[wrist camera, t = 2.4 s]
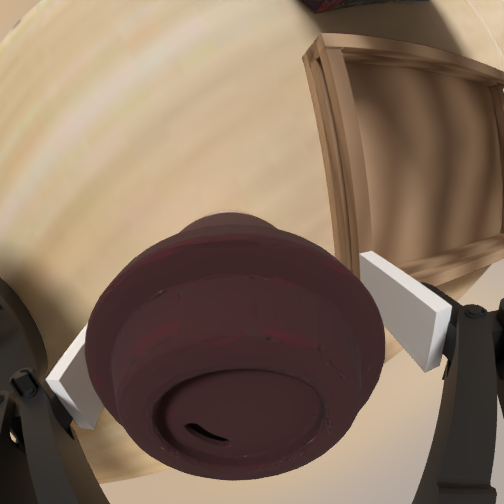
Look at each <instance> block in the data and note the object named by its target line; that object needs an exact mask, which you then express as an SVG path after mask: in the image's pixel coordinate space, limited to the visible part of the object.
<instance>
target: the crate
mask: <svg viewBox="0 0 504 504" xmlns="http://www.w3.org/2000/svg"><path fill="white" fill-rule="evenodd" d="M302 58H303V62H304V66H305V70H306V74H307V79H308V83H309V87H310V92H311V96H312V101H313V106H314V111H315V115H316V121H317V126H318V131H319V136H320V142H321V148H322V154H323V160H324V166H325V173H326V179H327V186H328V194H329V201H330V209H331V217H332V226H333V236H334V246H335V257H336V259H337V260H339V261H340V262H341V263H342V264H343V265H344V266H346V267H347V268H348V269H349V270H350V271H351V272H352V273H353V274H354V275H355V276H356V277H357V278H358V279H359V280H360V261H359V254H360V253H364V252H369V251H373V252H374V253H376V254H377V255H379V256H381V257H382V258H384V259H385V260H387V261H388V262H390V263H391V264H393V265H394V266H396V267H397V268H399V269H400V270H402V271H403V272H405V273H406V274H408V275H409V276H411V277H412V278H414V279H415V280H416V281H418V282H419V283H421V282H425V283H428V284H431V285H433V286H438V285H440V284H443V283H446V282H448V281H451V280H453V279H456V278H459V277H461V276H464V275H466V274H469V273H471V272H473V271H476V270H478V269H481V268H483V267H485V266H488V265H490V264H492V263H494V262H497V261H499V260H501V259H503V258H504V92H503V88H504V72H503V71H501V70H498V69H496V68H493V67H491V66H488V65H486V64H483V63H480V62H478V61H475V60H472V59H469V58H466V57H463V56H460V55H457V54H454V53H450V52H447V51H443V50H440V49H436V48H432V47H428V46H423V45H419V44H414V43H409V42H404V41H399V40H393V39H386V38H379V37H372V36H363V35H352V34H337V33H321V34H320V35H319V36H318V37H317V39H316V40H315V41H314V43H313V44H312V45H311V46H310V48H309V49H308V50H307V52H306V53H305V54H304V55H303V57H302Z"/></svg>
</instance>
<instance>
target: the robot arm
mask: <svg viewBox="0 0 504 504" xmlns="http://www.w3.org/2000/svg"><path fill="white" fill-rule="evenodd" d="M359 261H360V281H361V282H362V283H363V284H364V286H365V287H366V288H367V290H368V291H369V292H370V294H371V295H372V297H373V299H374V301H375V303H376V305H377V307H378V309H379V312H380V315H381V318H382V321H383V325H384V326H385V327H386V328H387V330H388V331H389V332H390V333H391V334H392V335H393V336H394V337H395V339H396V340H397V341H398V342H399V343H400V344H401V345H402V347H403V348H404V349H405V350H406V351H407V352H408V353H409V355H410V356H411V357H412V358H413V359H414V360H415V362H416V363H417V364H418V365H419V366H420V367H421V369H422V370H423V371H424V372H427V371H429V370H432V369H434V368H436V367H438V366H439V365H440V362H441V358H442V354H444V355H445V356H446V357H447V359H448V361H447V365H446V368H445V371H444V375H443V378H442V379H443V380H444V387H443V393H442V399H441V405H440V410H439V415H438V420H437V425H436V429H435V434H434V437H433V441H432V445H431V449H430V452H429V456H428V459H427V463H426V466H425V469H424V472H423V475H422V478H421V481H420V484H419V487H418V490H417V492H416V495H415V498H414V500H413V502H412V504H495V503H496V496H497V493H496V489H495V488H493V487H491V485H490V480H491V473H492V467H493V460H494V452H495V441H496V427H497V395H498V398H499V402H500V405H501V409H502V413H503V418H504V298H503V299H502V300H501V302H500V306H499V310H496V311H491V312H487V310H486V309H484V308H483V307H481V306H479V305H474V304H471V305H465V306H462V305H460V304H459V303H458V302H456V301H455V300H453V299H452V298H451V297H449V296H448V295H445V293H443V292H442V291H439V289H437V288H436V287H435V286H433V285H431V284H428V283H425V282H421V283H419V282H418V281H416V280H415V279H414V278H412V277H411V276H409V275H408V274H406V273H405V272H403V271H402V270H400V269H399V268H397V267H396V266H394V265H393V264H391V263H390V262H388V261H387V260H385V259H384V258H382V257H381V256H379V255H377V254H376V253H374V252H373V251H369V252H364V253H360V254H359ZM87 325H88V323H87V324H86V326H85V327H84V328H83V330H82V331H81V332H80V333H79V335H78V336H77V337H76V339H75V340H74V341H73V342H72V344H71V345H70V346H69V348H68V349H67V350H66V352H65V353H64V354H63V355H61V357H60V358H59V359H58V361H57V362H56V364H55V365H54V366H53V369H51V370H50V372H49V373H48V375H47V376H46V377H45V379H44V380H43V382H42V383H41V384H40V382H41V380H42V379H43V377H44V376H45V374H46V370H47V356H46V351H45V347H44V344H43V341H42V338H41V336H40V333H39V331H38V329H37V327H36V325H35V323H34V321H33V319H32V317H31V315H30V314H29V312H28V310H27V309H26V307H25V306H24V304H23V303H22V301H21V300H20V299H19V297H18V296H17V295H16V294H15V292H14V291H13V290H12V289H11V288H10V287H9V286H8V285H7V284H6V283H5V282H4V281H3V280H2V279H1V278H0V504H110V503H109V501H108V500H107V498H106V496H105V495H104V493H103V491H102V489H101V487H100V485H99V483H98V482H97V480H96V478H95V476H94V474H93V472H92V470H91V468H90V465H89V463H88V461H87V459H86V457H85V455H84V452H83V450H82V448H81V445H80V443H79V440H78V438H77V435H76V433H75V430H74V429H73V428H72V426H71V425H70V424H71V422H72V420H74V421H75V422H76V424H77V425H78V426H79V427H80V428H82V429H91V430H94V428H95V426H96V424H97V421H98V419H99V416H100V414H101V412H102V409H103V407H104V405H103V403H102V402H101V400H100V398H99V397H98V395H97V393H96V392H95V390H94V388H93V385H92V383H91V380H90V378H89V374H88V369H87V364H86V359H85V336H86V329H87ZM10 432H11V434H12V435H13V436H14V437H15V438H16V442H14V441H13V440H12V439H11V437H10Z"/></svg>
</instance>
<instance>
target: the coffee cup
mask: <svg viewBox="0 0 504 504" xmlns="http://www.w3.org/2000/svg"><path fill="white" fill-rule="evenodd" d="M85 359H86V364H87V369H88V374H89V378H90V380H91V383H92V385H93V388H94V390H95V392H96V393H97V395H98V397H99V398H100V400H101V402H102V403H103V405H104V406H105V408H106V409H107V410H108V411H109V413H110V414H111V415H112V416H113V417H114V418H115V420H116V421H117V422H118V423H119V424H121V425H122V426H123V427H124V429H125V430H126V432H127V433H128V435H129V436H130V437H131V438H132V439H133V441H134V442H135V443H136V444H137V445H138V446H139V447H140V448H141V449H142V450H144V451H145V452H146V453H147V454H149V455H150V456H151V457H153V458H155V459H156V460H158V461H160V462H161V463H163V464H165V465H167V466H169V467H172V468H174V469H177V470H179V471H182V472H184V473H187V474H191V475H195V476H200V477H205V478H212V479H220V480H251V479H259V478H264V477H269V476H274V475H279V474H282V473H285V472H288V471H291V470H294V469H297V468H299V467H301V466H304V465H306V464H308V463H309V462H311V461H313V460H315V459H316V458H318V457H320V456H321V455H323V454H324V453H326V452H327V451H328V450H329V449H330V448H332V447H333V446H334V445H335V444H336V443H337V442H338V441H339V440H340V439H341V438H342V437H343V436H344V435H345V434H346V432H347V431H348V430H349V428H350V427H351V425H352V423H353V421H354V419H355V417H356V416H357V413H358V412H359V411H360V409H361V408H362V407H363V406H364V404H365V403H366V402H367V401H368V399H369V397H370V395H371V394H372V391H373V390H374V388H375V386H376V384H377V382H378V380H379V377H380V374H381V370H382V367H383V363H384V359H385V332H384V326H383V321H382V318H381V315H380V312H379V309H378V307H377V305H376V303H375V301H374V299H373V297H372V295H371V294H370V292H369V291H368V290H367V288H366V287H365V286H364V284H363V283H362V282H361V281H360V280H359V279H358V278H357V277H356V276H355V275H354V274H353V273H352V272H351V271H350V270H349V269H348V268H347V267H346V266H344V265H343V264H342V263H341V262H340V261H339V260H337V259H336V258H335V257H334V256H333V255H331V254H330V253H328V252H327V251H326V250H324V249H323V248H322V247H320V246H318V245H316V244H314V243H312V242H310V241H308V240H306V239H305V238H302V237H300V236H297V235H295V234H292V233H289V232H286V231H282V230H278V229H277V228H275V227H274V226H273V225H271V224H270V223H268V222H266V221H264V220H262V219H260V218H258V217H255V216H252V215H250V214H248V213H244V212H241V211H233V210H226V211H218V212H215V213H211V214H209V215H207V216H205V217H203V218H201V219H199V220H197V221H195V222H193V223H191V224H190V225H188V226H187V227H186V228H184V229H183V230H182V231H181V232H180V233H178V234H176V235H174V236H171V237H169V238H167V239H165V240H162V241H160V242H158V243H157V244H155V245H153V246H151V247H150V248H148V249H146V250H145V251H144V252H142V253H141V254H140V255H138V256H137V257H136V258H134V259H133V260H132V261H131V262H130V263H129V264H128V265H127V266H126V267H125V268H124V269H123V270H122V271H121V272H120V273H119V274H118V275H117V276H116V277H115V279H114V280H113V281H112V282H111V283H110V284H109V286H108V287H107V288H106V290H105V291H104V292H103V293H102V295H101V296H100V297H99V299H98V301H97V303H96V305H95V307H94V309H93V311H92V313H91V316H90V319H89V321H88V325H87V329H86V336H85Z"/></svg>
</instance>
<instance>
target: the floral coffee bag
mask: <svg viewBox="0 0 504 504" xmlns="http://www.w3.org/2000/svg"><path fill="white" fill-rule="evenodd" d="M303 1H304V2H305V3H306V4H307V5H308V6H309V7H310V8H311V9H312V10H313V12H314V13H320V12H325V11H330V10H335V9H340V8H345V7H352V6H358V5H366V4H374V3H384V2H397V1H429V0H303Z"/></svg>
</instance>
